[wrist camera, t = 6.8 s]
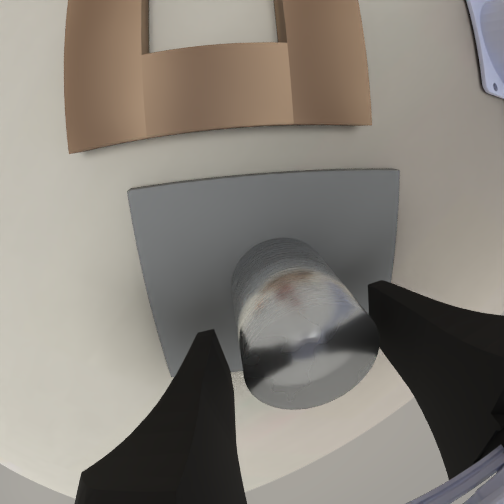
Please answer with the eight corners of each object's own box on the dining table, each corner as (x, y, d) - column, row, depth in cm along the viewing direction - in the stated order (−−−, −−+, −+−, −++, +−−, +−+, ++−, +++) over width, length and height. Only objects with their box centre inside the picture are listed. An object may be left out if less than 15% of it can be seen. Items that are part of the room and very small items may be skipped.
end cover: (317, 225, 13) (378, 283, 8) (330, 308, 15) (378, 383, 10) (218, 254, 13) (224, 331, 8) (245, 333, 15) (262, 422, 10)
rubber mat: (392, 168, 13) (399, 170, 13) (375, 339, 17) (379, 345, 16) (130, 188, 12) (127, 191, 11) (172, 369, 16) (171, 376, 15)
